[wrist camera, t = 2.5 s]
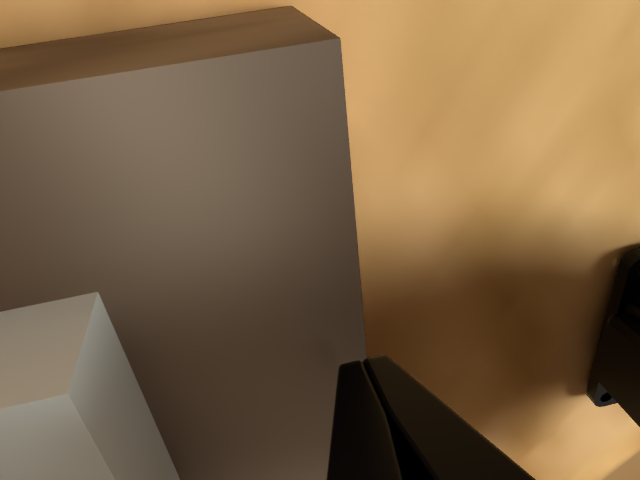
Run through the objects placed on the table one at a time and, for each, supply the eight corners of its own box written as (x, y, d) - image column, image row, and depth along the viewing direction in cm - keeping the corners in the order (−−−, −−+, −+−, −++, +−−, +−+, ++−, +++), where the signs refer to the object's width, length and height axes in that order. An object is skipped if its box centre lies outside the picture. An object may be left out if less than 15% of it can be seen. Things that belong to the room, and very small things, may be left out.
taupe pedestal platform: (291, 6, 10) (339, 37, 6) (356, 516, 19) (390, 638, 16) (-282, 89, 8) (-598, 184, 5) (90, 588, 18) (64, 736, 15)
